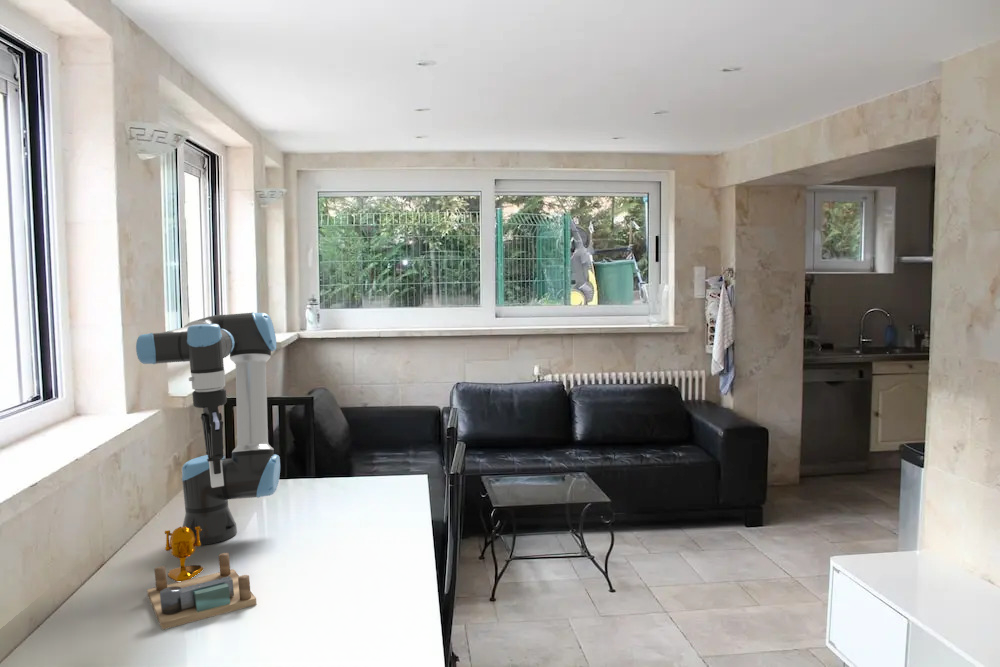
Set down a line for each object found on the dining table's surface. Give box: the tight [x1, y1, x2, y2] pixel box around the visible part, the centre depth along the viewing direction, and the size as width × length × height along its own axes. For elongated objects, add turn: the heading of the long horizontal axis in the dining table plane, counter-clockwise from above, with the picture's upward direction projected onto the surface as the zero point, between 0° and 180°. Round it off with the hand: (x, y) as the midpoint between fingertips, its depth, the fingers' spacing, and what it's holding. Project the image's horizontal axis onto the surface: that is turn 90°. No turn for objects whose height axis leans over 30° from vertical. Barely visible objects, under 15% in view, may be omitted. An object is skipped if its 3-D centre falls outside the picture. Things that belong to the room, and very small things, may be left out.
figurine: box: [164, 525, 205, 582], centre depth 200 cm, size 8×11×12 cm
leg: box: [160, 576, 234, 614], centre depth 177 cm, size 15×4×4 cm, turn 122°
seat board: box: [146, 552, 257, 630], centre depth 183 cm, size 22×20×6 cm
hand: (217, 486), depth 190 cm, fingers closed
